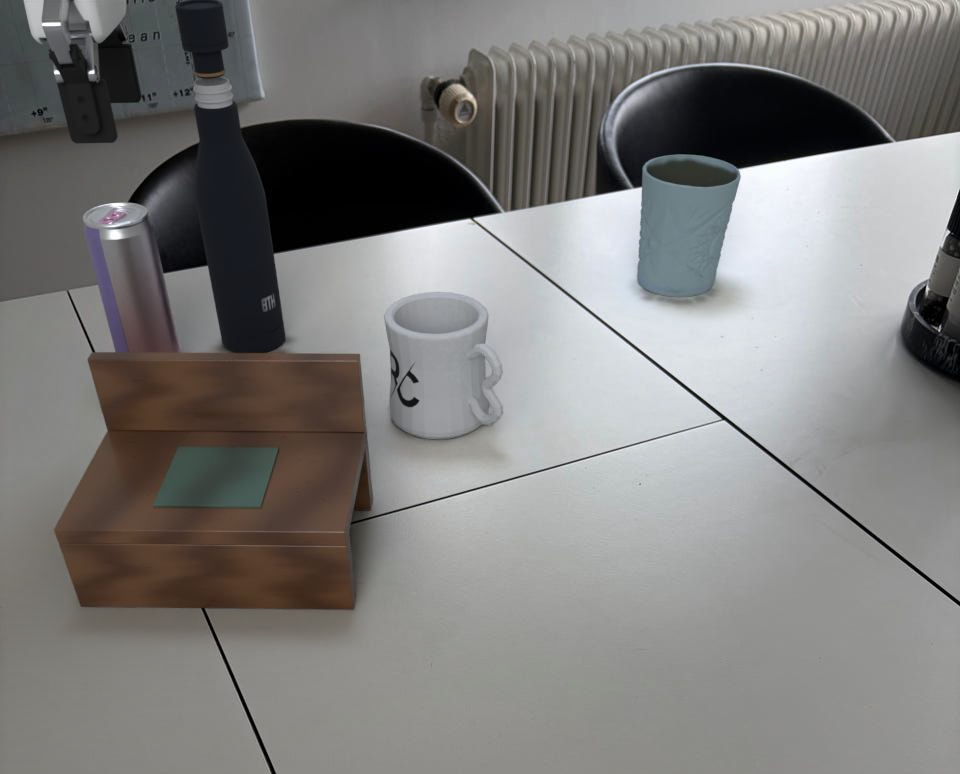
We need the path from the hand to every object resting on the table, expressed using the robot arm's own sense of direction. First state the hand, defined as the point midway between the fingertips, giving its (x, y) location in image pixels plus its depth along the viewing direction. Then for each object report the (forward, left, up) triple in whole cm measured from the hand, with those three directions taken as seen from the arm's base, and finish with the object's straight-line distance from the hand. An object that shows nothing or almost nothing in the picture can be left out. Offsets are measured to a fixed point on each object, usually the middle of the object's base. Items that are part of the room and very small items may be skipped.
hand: (109, 120), depth 78 cm
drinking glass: (+49, +31, -26) cm, 63 cm away
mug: (+25, 0, -26) cm, 36 cm away
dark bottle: (+4, +16, -26) cm, 30 cm away
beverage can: (-5, +10, -26) cm, 28 cm away
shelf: (+9, -19, -25) cm, 33 cm away
